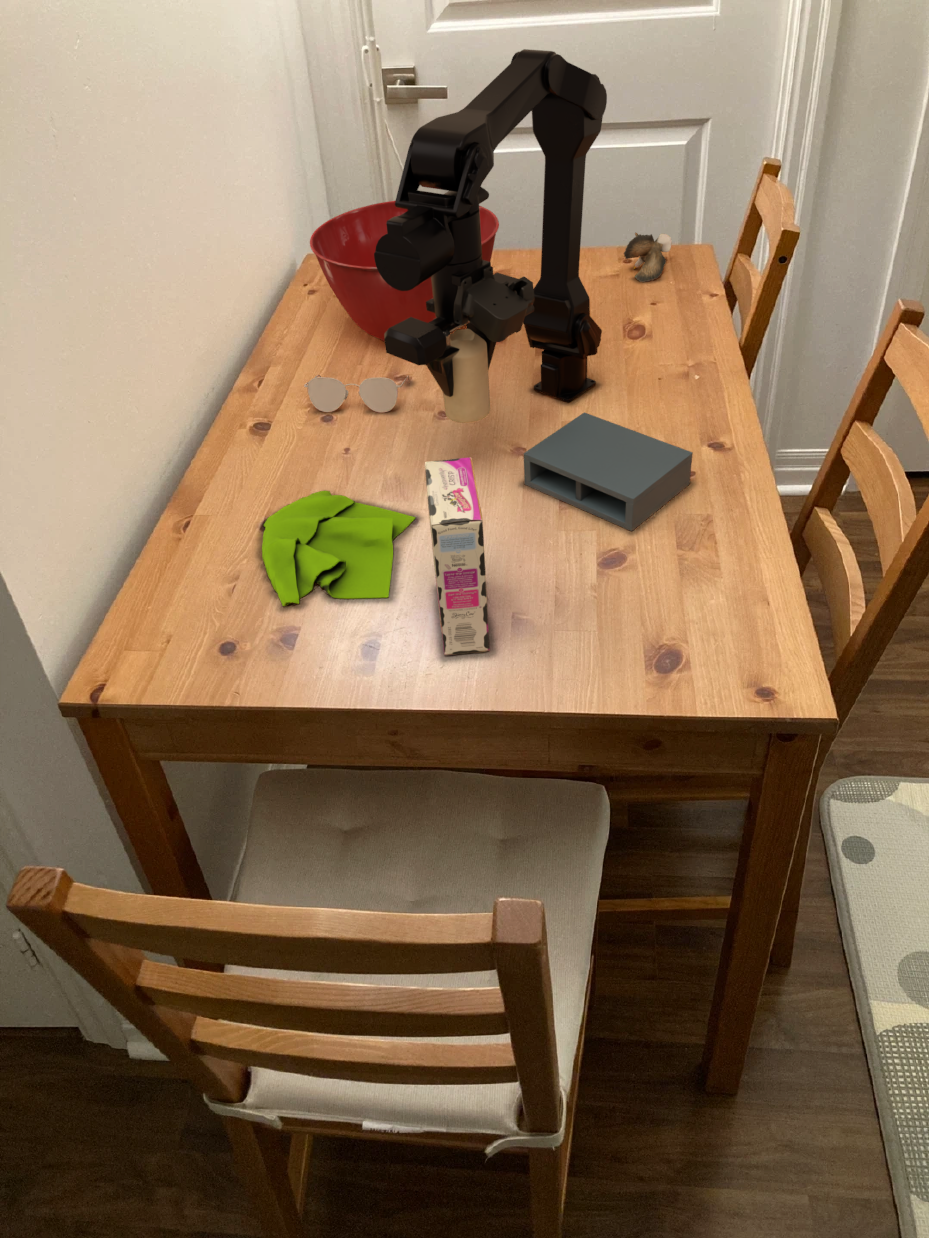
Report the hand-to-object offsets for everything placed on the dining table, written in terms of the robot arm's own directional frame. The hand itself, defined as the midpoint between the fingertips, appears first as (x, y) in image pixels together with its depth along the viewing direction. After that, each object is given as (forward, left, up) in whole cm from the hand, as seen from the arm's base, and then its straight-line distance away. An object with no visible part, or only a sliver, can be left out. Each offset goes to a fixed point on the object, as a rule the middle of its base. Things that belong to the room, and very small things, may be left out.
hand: (465, 385), depth 115 cm
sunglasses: (-5, -26, -12) cm, 29 cm away
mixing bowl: (-26, -36, -12) cm, 46 cm away
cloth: (+22, -2, -12) cm, 25 cm away
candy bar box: (+21, +18, -12) cm, 30 cm away
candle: (0, 0, -4) cm, 4 cm away
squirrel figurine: (-64, -18, -12) cm, 67 cm away
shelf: (-8, +15, -12) cm, 21 cm away
